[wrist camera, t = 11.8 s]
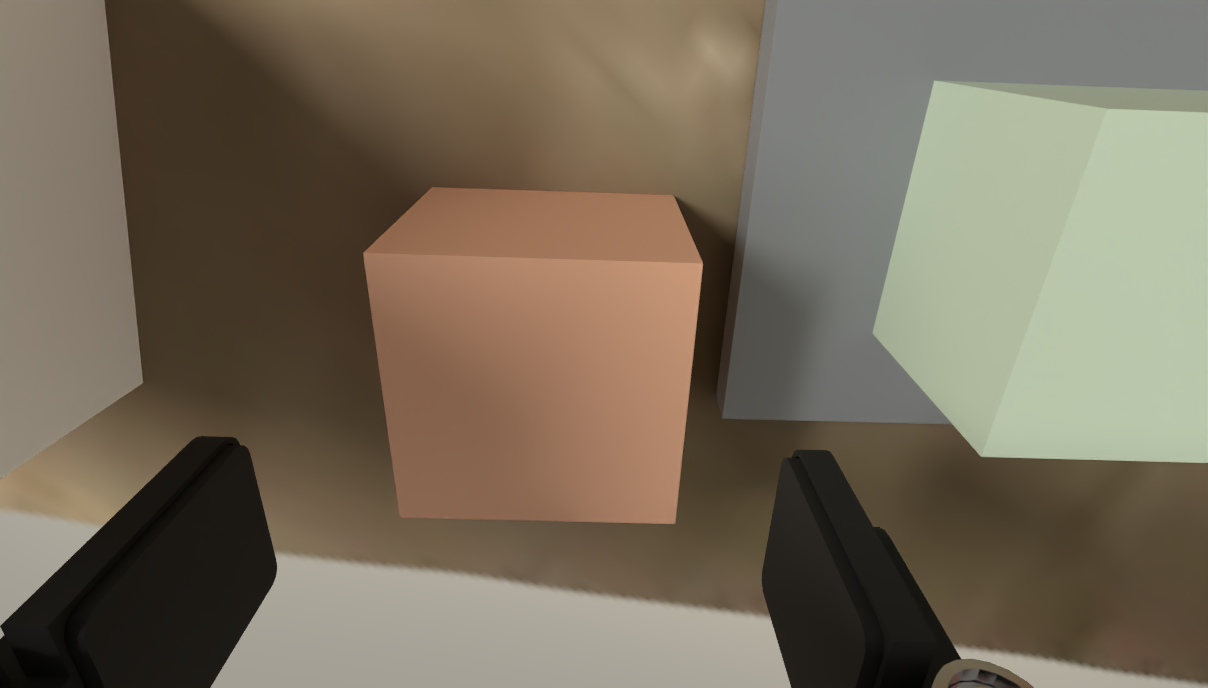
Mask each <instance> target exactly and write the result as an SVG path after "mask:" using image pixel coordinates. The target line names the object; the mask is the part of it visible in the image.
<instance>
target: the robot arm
mask: <svg viewBox="0 0 1208 688" xmlns="http://www.w3.org/2000/svg"><path fill="white" fill-rule="evenodd" d="M276 572H277V563H276V558H275V554H274V550H273V546H272V541H271V537H270V533H269V529H268V525H267V521H266V517H265V513H264V509H263V505H262V501H261V497H260V493H259V488H258V484H257V480H256V476H255V472H254V468H253V464H252V460H251V456H250V452H249V450H248V448H247V447H245V446H240V443H239V442H238V440H237V439H236V438H233V437H207V436H201V437H196V438H195V439H193V440H192V441H191V442H190V443H189V444H188V445H187V446H186V447H185V448H183V449H182V450H181V451H180V452H179V453H178V454H177V455H176V456H175V457H174V458H173V459H172V460H171V461H170V462H169V463H168V464H167V465H166V466H165V467H164V468H163V469H162V470H161V471H160V472H159V473H158V474H157V475H156V476H155V477H154V478H153V479H151V480H150V481H149V482H148V483H147V484H146V485H145V486H144V487H143V488H142V489H141V490H140V491H139V492H138V493H137V494H136V495H135V496H134V497H133V498H132V499H131V500H130V501H129V502H128V503H127V504H126V505H125V506H124V507H123V508H122V509H121V510H119V511H118V512H117V513H116V514H115V515H114V516H113V517H112V518H111V519H110V520H109V521H108V522H107V523H106V524H105V525H104V526H103V527H102V528H101V529H100V530H99V531H98V532H97V533H96V534H95V535H94V536H93V537H92V538H91V539H90V540H89V541H87V542H86V543H85V544H84V545H83V546H82V547H81V548H80V549H79V550H78V551H77V552H76V553H75V554H74V555H73V556H72V557H71V558H70V559H69V560H68V561H67V562H66V563H65V564H64V565H63V566H62V567H61V568H60V569H59V570H58V571H57V572H55V573H54V574H53V575H52V576H51V577H50V578H49V579H48V580H47V581H46V582H45V583H44V584H43V585H42V586H41V587H40V588H39V589H38V590H37V591H36V592H35V593H34V594H33V595H32V596H31V597H30V598H29V599H28V600H27V601H26V602H24V603H23V604H22V605H21V606H20V607H19V608H18V610H16V611H15V612H14V613H13V614H12V615H11V616H10V617H9V618H8V619H7V620H6V621H5V622H4V623H3V624H2V625H1V626H0V627H1V629H2V631H3V632H4V636H3V637H2V638H1V639H0V688H210V687H211V685H212V684H213V682H214V680H215V679H216V677H217V676H218V674H219V672H220V670H221V669H222V667H223V666H224V664H225V662H226V660H227V659H228V657H229V656H230V654H231V652H232V651H233V649H234V648H235V646H236V644H237V643H238V641H239V639H240V638H241V636H242V634H243V633H244V631H245V629H246V628H247V626H248V624H249V623H250V621H251V619H252V618H253V616H254V615H255V613H256V611H257V610H258V608H259V606H260V605H261V603H262V601H263V600H264V598H265V596H266V595H267V593H268V592H269V590H270V588H271V587H272V585H273V583H274V580H275V577H276ZM762 587H763V593H764V597H765V600H766V603H767V607H768V610H769V613H770V617H771V620H772V624H773V627H774V630H775V633H776V637H777V640H778V644H779V647H780V650H781V654H782V657H783V661H784V664H785V667H786V671H787V674H788V677H789V681H790V684H791V688H1033V687H1032V686H1031V685H1030V684H1029V683H1028V682H1027V681H1025V680H1023V679H1022V678H1020V677H1019V676H1017V675H1015V674H1014V673H1012V672H1011V671H1009V670H1007V669H1004V668H1002V667H999V666H997V665H995V664H992V663H990V662H985V661H980V660H974V659H961V658H960V656H959V655H958V653H957V651H956V649H955V648H954V646H953V644H952V643H951V641H950V639H949V637H948V636H947V634H946V632H945V631H944V629H943V627H942V626H941V624H940V622H939V620H938V619H937V617H936V615H935V614H934V612H933V610H932V608H931V607H930V605H929V603H928V602H927V600H926V598H925V597H924V595H923V593H922V591H921V590H920V588H919V586H918V585H917V583H916V581H915V579H914V578H913V576H912V574H911V573H910V571H909V569H908V568H907V566H906V564H905V562H904V561H903V559H902V557H901V556H900V554H899V552H898V550H897V549H896V547H895V545H894V544H893V542H892V540H891V539H890V537H889V536H888V534H887V533H886V532H885V530H883V529H881V528H880V527H873V526H872V524H871V522H870V521H869V519H868V517H867V515H866V513H865V512H864V510H863V508H862V506H861V505H860V503H859V501H858V499H857V498H856V496H855V494H854V492H853V490H852V489H851V487H850V485H849V483H848V482H847V480H846V478H845V476H844V475H843V473H842V471H841V469H840V467H839V466H838V464H837V462H836V460H835V459H834V457H833V455H832V454H831V452H830V451H827V450H796V451H794V453H793V456H792V458H784V459H783V461H782V465H781V470H780V475H779V481H778V487H777V492H776V498H775V503H774V509H773V515H772V520H771V526H770V531H769V537H768V543H767V548H766V554H765V559H764V565H763V571H762Z"/></svg>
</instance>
